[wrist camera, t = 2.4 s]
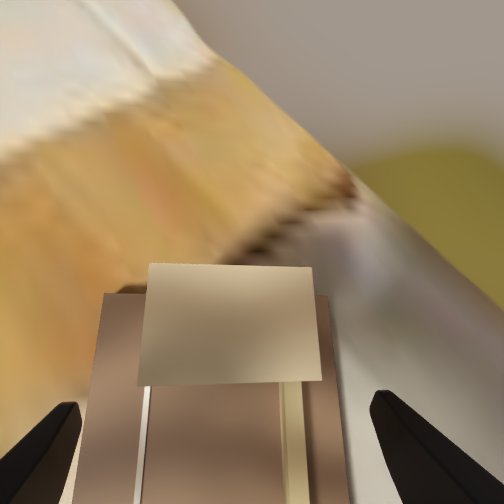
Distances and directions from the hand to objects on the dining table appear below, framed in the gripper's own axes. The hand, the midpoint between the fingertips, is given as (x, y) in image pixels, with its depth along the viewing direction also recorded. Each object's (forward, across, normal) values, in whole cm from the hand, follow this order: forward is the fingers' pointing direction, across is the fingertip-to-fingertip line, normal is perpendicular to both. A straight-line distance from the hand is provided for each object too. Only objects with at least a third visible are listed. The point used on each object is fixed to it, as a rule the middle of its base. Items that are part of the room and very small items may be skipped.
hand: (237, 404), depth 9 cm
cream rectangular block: (+8, 0, +4) cm, 9 cm away
